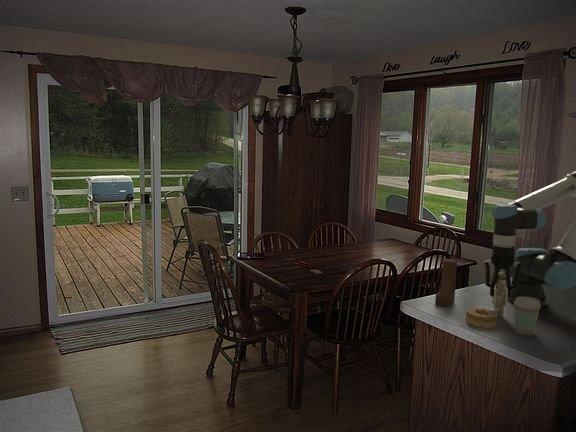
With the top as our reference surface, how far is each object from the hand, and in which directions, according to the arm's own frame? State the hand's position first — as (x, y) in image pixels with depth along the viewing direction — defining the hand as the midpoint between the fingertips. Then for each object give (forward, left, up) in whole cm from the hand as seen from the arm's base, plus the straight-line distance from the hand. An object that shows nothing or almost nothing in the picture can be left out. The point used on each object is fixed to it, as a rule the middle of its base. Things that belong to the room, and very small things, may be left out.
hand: (499, 304), depth 185 cm
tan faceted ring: (+8, +9, -4) cm, 13 cm away
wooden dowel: (0, 0, -4) cm, 4 cm away
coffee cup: (-5, +16, -5) cm, 17 cm away
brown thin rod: (+8, -2, -4) cm, 10 cm away
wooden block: (+18, -11, -5) cm, 22 cm away
